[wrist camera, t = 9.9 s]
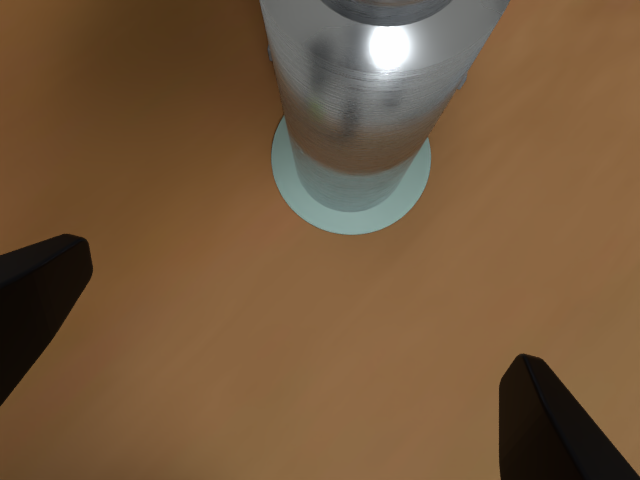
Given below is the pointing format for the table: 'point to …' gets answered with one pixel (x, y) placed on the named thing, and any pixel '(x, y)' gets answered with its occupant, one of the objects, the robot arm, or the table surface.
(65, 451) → the table surface
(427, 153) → the pale green disc
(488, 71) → the table surface
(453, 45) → the canister
